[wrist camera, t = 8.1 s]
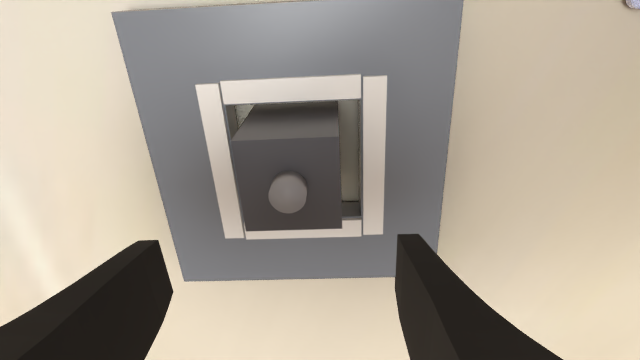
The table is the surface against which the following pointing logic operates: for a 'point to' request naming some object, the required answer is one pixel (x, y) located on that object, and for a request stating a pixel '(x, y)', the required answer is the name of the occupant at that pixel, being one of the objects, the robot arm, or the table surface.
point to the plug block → (289, 167)
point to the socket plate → (285, 87)
